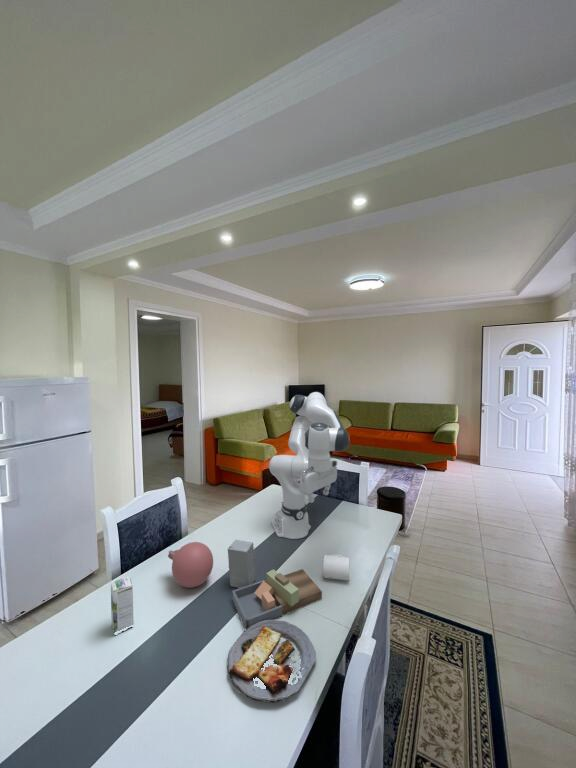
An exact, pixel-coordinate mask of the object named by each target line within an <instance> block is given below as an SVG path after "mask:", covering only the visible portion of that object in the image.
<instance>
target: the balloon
mask: <svg viewBox="0 0 576 768" xmlns="http://www.w3.org/2000/svg"><path fill="white" fill-rule="evenodd" d="M167 557H168V559H170V560H172V564H171V574H172V576H173V578H174V581H175V582H176V583H177V584H178V585H180V586H181V587H183V588H188V589H189V588H190V589H191V588H192V589H193V588H196V587H199V586H201V585H202V584H203V583H205V581H207V580H208V578H209V577H210V575H211V574H212V572H213V571H212V570H213V568H214V556H213V553H212V551H211V549H210V548H209V547H208V546H207V545H206V544H205V543H203V542H200V541H192V542H188V543H186V544H184V545H183V546H181V547H180V548H179V549H175V550H169V551H168V554H167Z"/></svg>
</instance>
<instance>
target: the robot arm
mask: <svg viewBox="0 0 576 768" xmlns="http://www.w3.org/2000/svg"><path fill="white" fill-rule="evenodd" d="M289 409H290V411H291V412H292V413H293V414H297V415H298V416H297V417H295V419H294V421H293V423H292V425H291V426H292V427H291V429H290V432H289V433H290V434H289V439H288V443H287V444H288V445H287V446H288V448H289V449H290V450H291V451H292V452H293V453H294V454H296V455H293V454H292V455H291V454H279V455H278V454H277V455H273V456H272V457H271V458H270V460H269V464H268V467H269V471H270V473H271V474H272V476H274V477H275V478H276V479H277V481H278V482H279V484H280V487H281V490H282V501H283V502H281V508H280V510H278V511H277V512H275V517H274V518H273V519H272V520H271V522H270V523H271V525H272V528H273V530H274V532H275V534H276V536H277V537H279V538H285V539H290V540H297V539H302V538H304V537H306V536H308V534H309V532H310V531H309V530H310V529H311V527H312V526H311V524H309V523H310V522H309V514H308V512H307V503H306V496H307V497H308V503H311V504H312V503H314V502H315V497H314V496H313V495H314V492H317V491H318V490H321V489H323V490H322V492H323V493H322V494H323V495H324V496H328V495H329V493H330V492H329V491H330V489H331V484H332V483H335V482H336V480H337V478H338V467H337V466H338V460H335V459H334V458H333V459H332V458H331V454H330V452H338V453H339V452H341V453H343V452H344V451H346V449H348V448H349V446H350V435H349V432H348V431H347V429H346V428H345V427H344V425H343V423H342V421H341V419H340V418H339V415H338V413H337V412H336V411H335V410H333V409H332V408H330V406H329V405H328V404H327V399H326V398H325V396H324V395H323V394H322V393H321V392H319V391H313V392H311V393H309V395H308V396H305V395H302V394H295V395H294V396H293V397H292V398H291V400H290V402H289ZM296 479H297V480H298V479H299V480H300V482H297V481H296Z"/></svg>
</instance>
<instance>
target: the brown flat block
mask: <svg viewBox="0 0 576 768" xmlns="http://www.w3.org/2000/svg"><path fill="white" fill-rule="evenodd" d="M283 575H284V576H285V577H286V578H287V579H289V582H290V583H292V584H293V585H294V586H296V587H297V588H298V589H299V602H297V603H296V604H294V605H293V606H290V605H289V604H288V603H287V602H285V601H284V600H283V599H282V598H281V597H280V596H278V595H277V594H276V593H275V592H274V593H273V595H272V597H273V598H274V599H275V604H276V606H277V607H278V606H280V605H282V616H284V615H286V614H289V613H292V612H294V611H297V610H299V609H301V608H304V607H306V606H308V605H311V604H314V603H316V602H319V601H321V600H322V599H323V591H322V590H321V588H320V587H319V586H318V585H317V584H316V583H315V581H314V580H313V579H312V578H311V577H310V576H309V574H307V572H306V571H305V570H304V568H302V569H298V570H295V571H292V572H290V573H287V574H283Z"/></svg>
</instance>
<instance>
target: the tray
mask: <svg viewBox="0 0 576 768" xmlns="http://www.w3.org/2000/svg"><path fill="white" fill-rule="evenodd" d="M263 581H264V582H266V579H263V580H260V581H257V582H253V584H251V585H248V586H245V587H242V588H236V589H233V590H231V601H232V603H233V606H234V608H235V607H236V608H235V610H236V612H237V614H238V616H239V618H241V619H240V620H242V621H241V623H242V622H243V623H242V625H243V627H244V629H247V628H248V627H249V626H252V625H254V624H256V623H258V622H261V621H264V620H278V619H280V618H283V615H282V605H280V606H278V607H277V606H276V604H275V608H273V609H270V610H267V611H264V609H263V608H262V601H261V600H260V599H259V598H258V597H257V596H256V595H255V594H254V593H255V591H256V590H257V589H258V587H259V586H260V585H261V583H262V582H263Z"/></svg>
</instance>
